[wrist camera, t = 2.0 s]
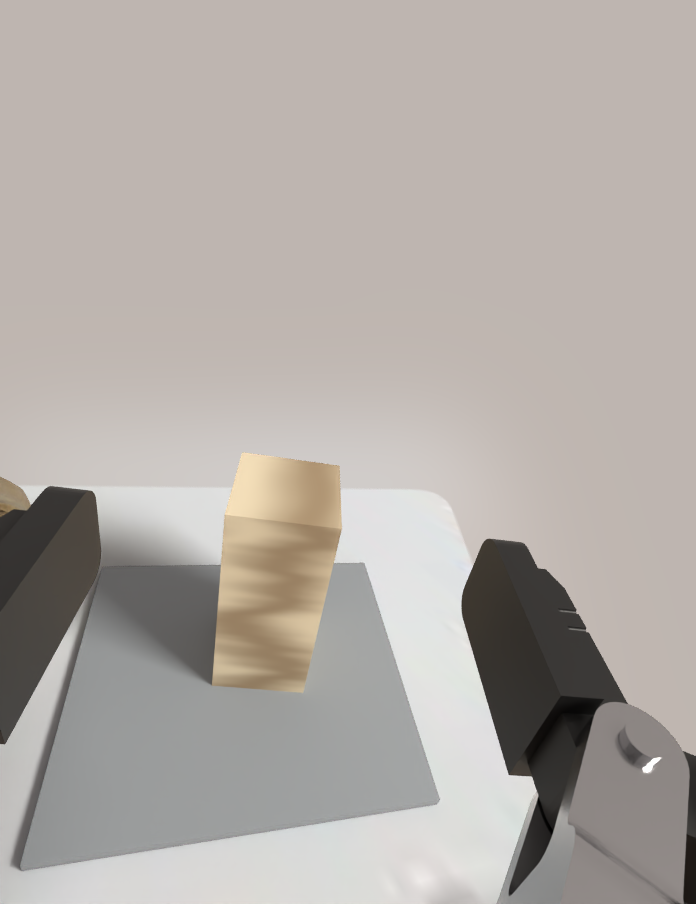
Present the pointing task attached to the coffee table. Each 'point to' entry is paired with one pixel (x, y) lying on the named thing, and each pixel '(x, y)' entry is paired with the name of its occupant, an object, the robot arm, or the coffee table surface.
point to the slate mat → (219, 726)
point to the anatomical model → (12, 497)
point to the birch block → (275, 571)
